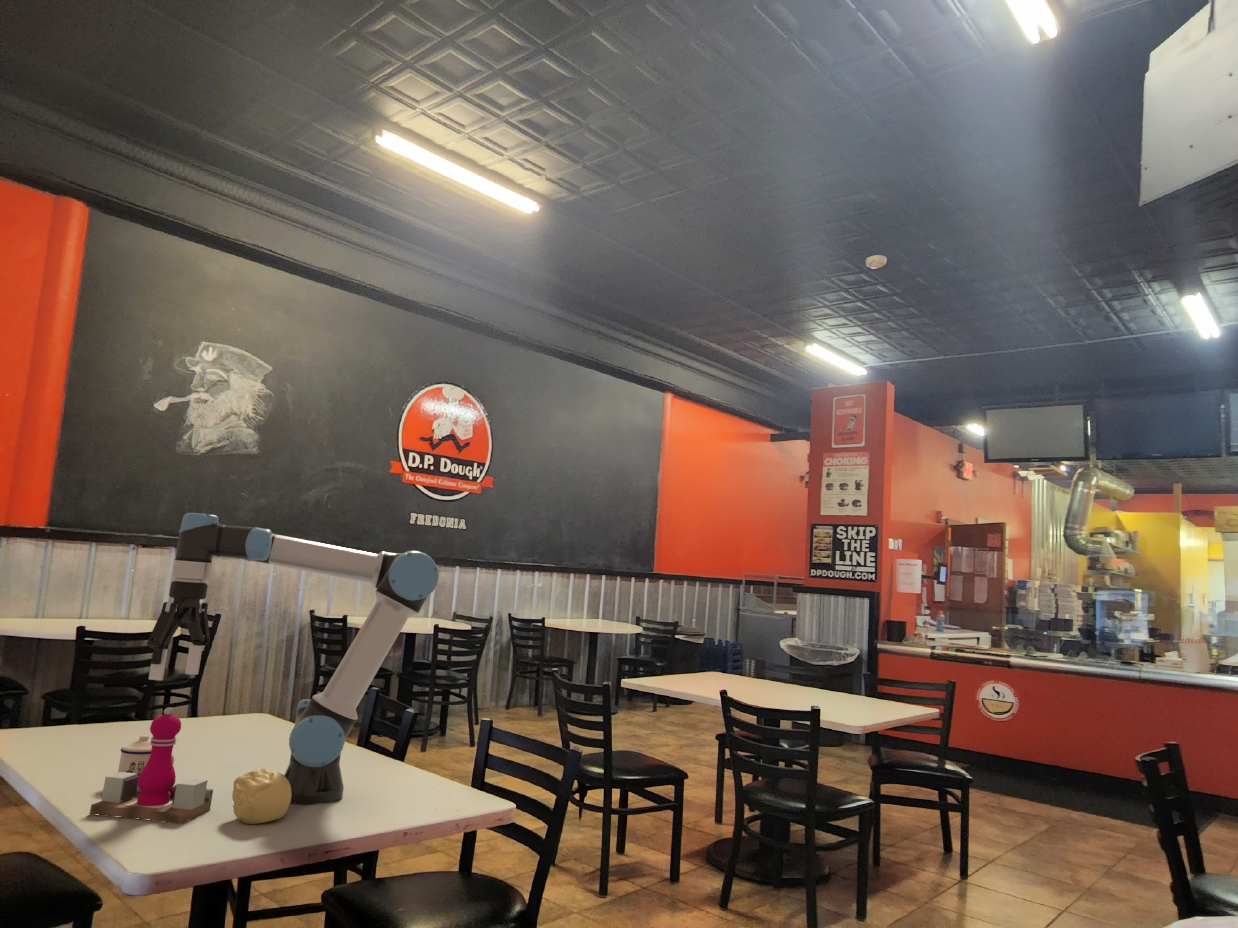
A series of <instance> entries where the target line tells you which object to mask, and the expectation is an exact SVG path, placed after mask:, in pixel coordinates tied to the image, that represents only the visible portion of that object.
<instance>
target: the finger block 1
mask: <svg viewBox="0 0 1238 928" xmlns="http://www.w3.org/2000/svg"><path fill="white" fill-rule="evenodd" d="M137 776H138V774H137V773H127V772H119V773H118V772H117V773H113V774H110V775H107V776H105V778H104V784H103V789H102V794H101V801H106V802H116V803H120V802H123V801H125V800H128V799H131V798H133V797H134V796H136V790H137V784H138V778H139V777H137Z"/></svg>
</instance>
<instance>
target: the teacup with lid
mask: <svg viewBox="0 0 1238 928" xmlns="http://www.w3.org/2000/svg"><path fill="white" fill-rule="evenodd" d="M150 743H151V739H150V736H149V735H148V734H147V735H146V734H145V735H142V734H141V735H140V736H139V739H137V740H135V741H132V742H131V743H127V744H125V745H123V746H122V747H121V748H120V753H121V754H120V758H119V765H118V768H117V769H118V770H117V773H119V772H127V773H137V774H138V776H137V777H139V776H140V774H141V772H142V770H143V769H144V767H145V766H146V764H147V762H148V760H149V758H150V755H151V750H152V745H151V744H150ZM172 763H173V765H174V763H175V757H174V755H173V754H172ZM138 779H139V778H138Z"/></svg>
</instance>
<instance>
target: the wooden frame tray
mask: <svg viewBox="0 0 1238 928" xmlns="http://www.w3.org/2000/svg"><path fill="white" fill-rule="evenodd" d="M137 799H138V795H136V796H134V797H133V798H131V799H128V800H125V801H123V802H120V803H116V802H106V801H98V802H95V803H92V804H91V805H90V809H89V815H90V814H99V815H105V816H104V817H109V816H121V817H127V818H126V819H129V818H139V819H150V820H155V821H154V822H159V821H165V822H164V823H169V822H171V823H170V824H173V823H174V824H179V823H181V824H183V823H185V822H188V821H190V820H192V819H194V818H197V817H198V816H201V815H202V814H204V813H207V812H208V811H210V810H211V807H212V801H209V802H204V804H203V805H201V806H198V807H196V808H194V809H192V810H188V809H177V808H173V805H172V801H173V798H170V801H169V802H168V803H166V804H163V805H157V806H144V805H139V804H138V803H137ZM106 815H107V816H106ZM139 819H138V820H139ZM189 819H190V820H189Z"/></svg>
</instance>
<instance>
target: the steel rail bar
mask: <svg viewBox="0 0 1238 928" xmlns="http://www.w3.org/2000/svg"><path fill="white" fill-rule="evenodd" d="M174 789H175V785H173V787H172V788H171V789H169V792H170V793H171V795H170V798H173V795H174ZM141 792H142V791H141V790H140V788H139V787H138V784H137V790H136V795H138V794H139V793H141ZM213 793H214V788H213V789H211V788H206V793H205V800H204V802H209V801H211V802H212V799H213Z"/></svg>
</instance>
